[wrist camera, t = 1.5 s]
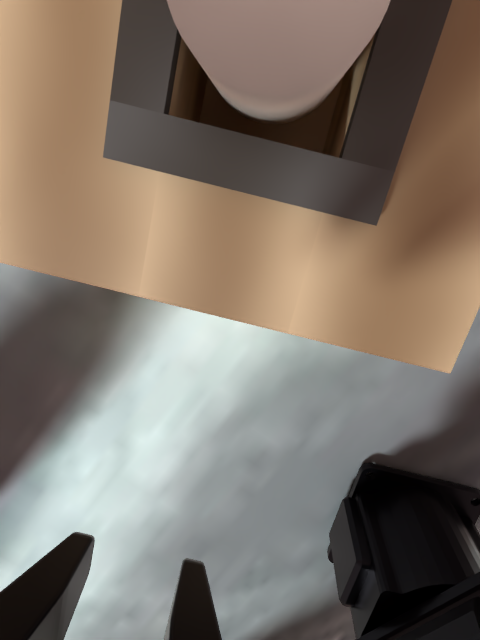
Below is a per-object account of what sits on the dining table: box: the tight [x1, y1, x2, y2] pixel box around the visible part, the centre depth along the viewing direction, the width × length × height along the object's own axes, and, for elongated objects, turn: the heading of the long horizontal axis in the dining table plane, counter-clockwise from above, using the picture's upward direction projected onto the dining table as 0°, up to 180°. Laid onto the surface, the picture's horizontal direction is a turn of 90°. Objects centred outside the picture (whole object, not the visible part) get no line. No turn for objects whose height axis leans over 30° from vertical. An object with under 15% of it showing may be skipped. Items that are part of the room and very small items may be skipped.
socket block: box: [0, 0, 480, 373], centre depth 14 cm, size 16×16×7 cm
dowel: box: [167, 0, 390, 124], centre depth 10 cm, size 4×4×6 cm
